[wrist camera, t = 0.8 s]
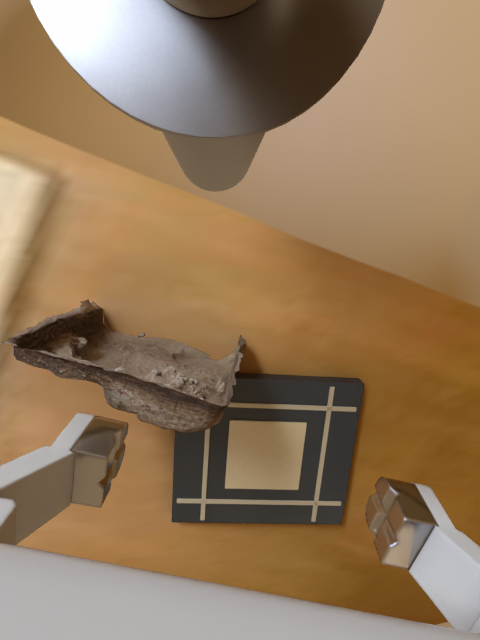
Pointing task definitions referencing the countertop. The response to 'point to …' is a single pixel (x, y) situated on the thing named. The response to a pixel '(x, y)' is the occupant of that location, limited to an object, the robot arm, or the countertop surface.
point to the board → (271, 453)
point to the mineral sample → (133, 368)
